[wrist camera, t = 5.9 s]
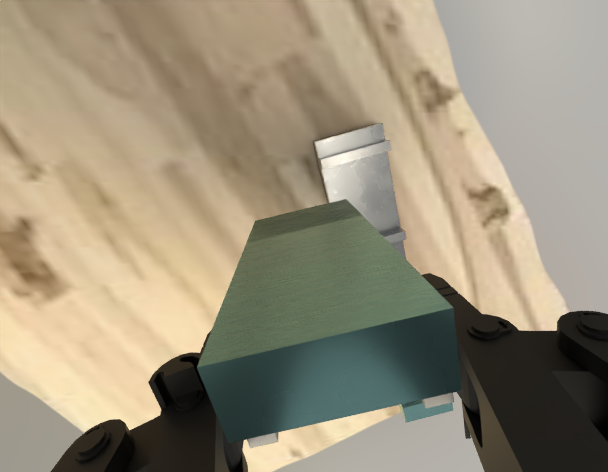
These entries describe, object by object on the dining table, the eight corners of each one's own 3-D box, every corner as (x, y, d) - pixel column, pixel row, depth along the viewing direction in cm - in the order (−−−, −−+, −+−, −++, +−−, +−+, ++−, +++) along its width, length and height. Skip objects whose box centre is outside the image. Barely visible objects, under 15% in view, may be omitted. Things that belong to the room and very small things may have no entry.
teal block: (255, 220, 13) (196, 367, 5) (346, 198, 13) (452, 307, 5) (289, 336, 15) (291, 595, 7) (369, 318, 15) (478, 555, 6)
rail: (312, 141, 29) (329, 146, 18) (375, 123, 29) (428, 118, 18) (363, 348, 36) (396, 434, 26) (413, 334, 36) (466, 416, 26)
